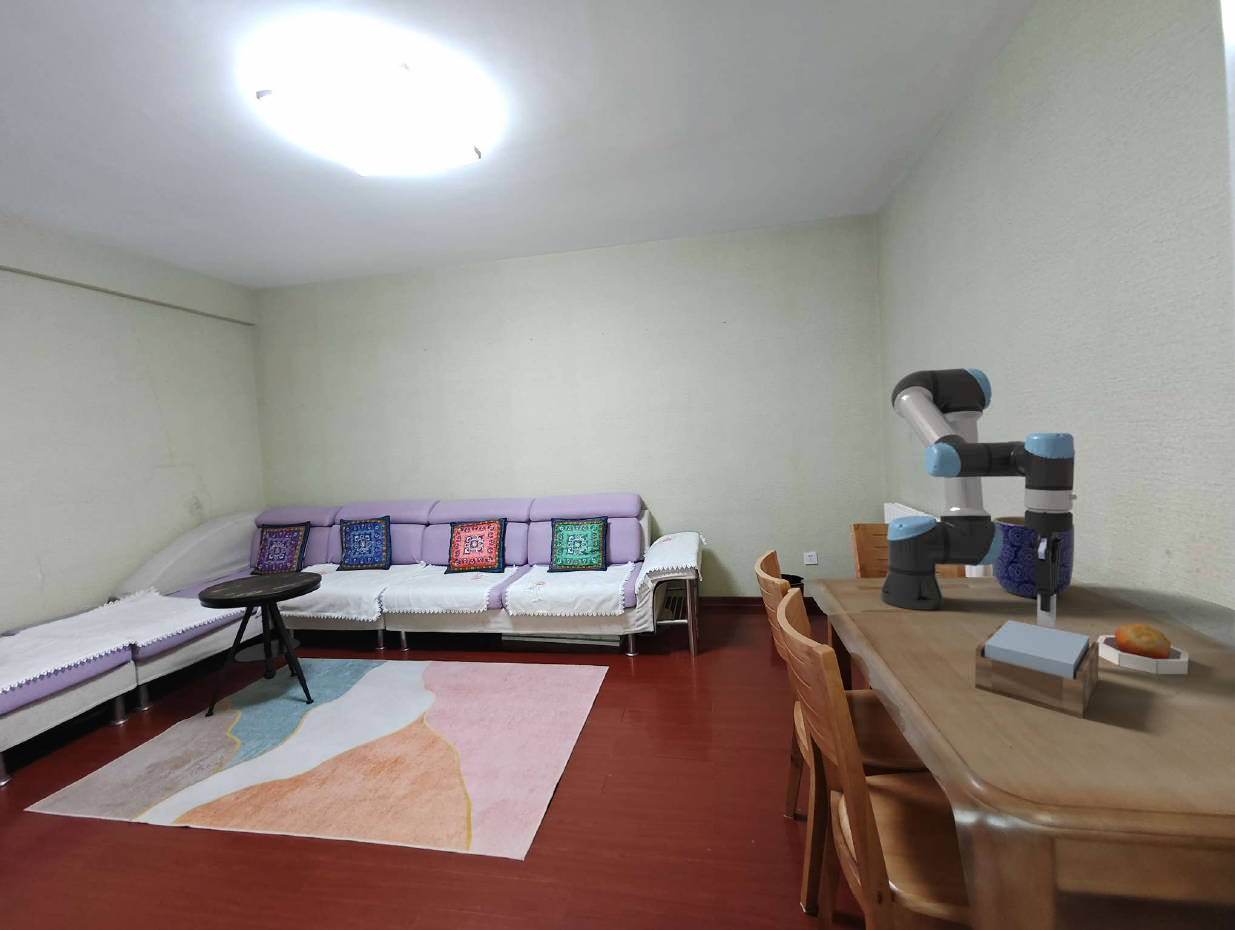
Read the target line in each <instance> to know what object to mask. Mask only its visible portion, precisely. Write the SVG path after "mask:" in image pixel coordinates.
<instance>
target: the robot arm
mask: <svg viewBox="0 0 1235 930" xmlns="http://www.w3.org/2000/svg"><path fill="white" fill-rule="evenodd" d="M992 394H993V393H992V386H991V383H990V380H989V378H988V376H987V374H985V373H984V372H983V371H982V370H981V369H978V368H963V367H961V368H949V369H935V370H933V369H932V370H927V369H925V370H918V371H913V372H911V373H910V374H909V373H908V374H907V375H905V376H904V377H903V378H901V379H900V380H899V381H898V382H897V383H896V384H895V386H894V388H893V390H892V393H891V397H890V402H891V405H892V408H893V410H894V412H895V413H896V414H897V415H898V416H899V417H901V418H902V419H905V421H906V422H907V423H908V424H909V426H910V428H911V429H912V430H913V432H914V434H915V435H916V436H917V437H918V438H919V440H920V441H921V443H922V444H923V446H924V447H925V449H926V450H925V452H924V453H925V454H924V465H925V469H926V471H927V473H928V474H929V476H931V477H934V478H935V477H936V478H943V483H944V497H945V510H944V511H942V512H941V514H940V515H939V517H940V518H939V519H940V521H937V519H936V518H935V517H934V516H930V515H908V516H903V517H898V518H895V519H893V520H890V522H888V527H887V528H888V529H887V536H886V540H887V573H886V575H885V579H884V582H883V583H882V586H881V589H880V598H881V600H882V601H883V602H885V603H886V604H888V605H891V606H895V607H899V608H904V609H909V610H922V611H924V610H925V611H927V610H936V609H937V610H938V609H941V608H942V607H943V606H944V595H943V593H942V589H941V587H940V584H939V580H938V579H937V575H936V574H937V573H936V572H937V571H936V569H937V566H939V565H941V566H942V565H944V566H971V567H977V566H990V565H992V564H993V563H994V562H995V561H996V560H997V559H998V557H999V556H1000V554H1001V551H1002V547H1003V533H1002V531H1001V527H1000V525H999V524H997V523H996V522H993V520H992V514H990V513H989V512H988V511H987V510H986V509H985V508H984V497H983V485H982V483H983V482H982V478H992V477H994V478H995V477H996V478H997V477H998V478H1000V477H1001V478H1002V477H1004V478H1006V477H1011V478H1012V477H1015V478H1017V477H1021V478H1025V479H1024V482H1025V484H1024V502H1023V503H1024V507H1025V508H1026V510H1025V511H1024V517H1025V523H1024V525H1025V527H1026V528H1028V529H1031V530H1036V531H1038V535H1037V538H1036V539H1034V547H1035V548H1034V549H1033V554H1034V563H1035V590H1033V593H1036V594H1038V598H1037V599H1036V600H1037V604H1036V605H1037V610H1036V613H1037V615H1036V626H1041V627H1046V628H1051V629H1055V627H1056V620H1057V619H1056V617H1057V615H1056V614H1057V613H1056V612H1057V597H1056V594H1061V590H1057V589H1056V588H1058V586H1059V585H1058V575H1059V560H1060V548H1061V546H1062V539H1058V532H1069V531H1071V530H1072V529H1073V524H1074V523H1073V520H1074V513H1072V512H1071V511H1070V510H1072V509H1073V500H1077V499H1078V496H1077V494H1073V493H1074V490H1073V489H1074V480H1075V479H1074V478H1075V477H1074V476H1075V455H1076V451H1075V444H1074V443H1075V441H1074V439H1075V438H1074V437H1073V435H1072V434H1070V433H1068V432H1042V433H1041V432H1039V433H1037V432H1036V433H1034V432H1033V433H1029V434H1028V435H1027V436H1026V438H1025V441H1019V440H1017V441H1013V440H1011V441H1008V442H1006V441H1005V442H1004V441H1003V442H1002V441H1001V442H979V434H978V433H979V431H978V420H979V419H980V418H982V416H983V415H984V410H986V409H988V408H989V407H990V405H991V398H992ZM1054 593H1056V594H1054ZM1061 595H1062V594H1061Z"/></svg>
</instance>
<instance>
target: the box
mask: <svg viewBox="0 0 1235 930" xmlns="http://www.w3.org/2000/svg"><path fill="white" fill-rule="evenodd" d="M1005 623H1006V622H1000V624H999V625H998V626H996V628H995V629H994V630H993V631H992V632H990V634H988V636H986V637H985V638H984V639H983V640H982V641H981V642H980V643H979V644H978V645H977V646H976V647H975V669H974V670H975V672H974V673H975V674H974V675H975V676H974V677H975V680H974V681H975V683H974V685H975V688H976V689H979V690H983V691H986V692H989V693H993V694H996V695H1000V696H1004V697H1007V698H1010V699H1014V700H1018V701H1019V702H1023V703H1024V702H1025V703H1028V704H1031V705H1034V706H1037V707H1041V708H1044V709H1048V710H1052V711H1055V712H1059V713H1063V714H1066V715H1069V716H1073V717H1076V718H1080V719H1083V716H1084V715H1085V712H1086V710H1087V707H1088V705H1089V703H1090V701H1091V699H1092V697H1093V694H1094V692H1095V689H1096V688H1097V685H1098V683H1099V662H1100V661H1099V659H1100V658H1099V657H1100V656H1099V643H1098V642H1097V641H1092V643H1091V645H1090V646H1089V650H1088V652H1087V654H1086V656H1085V658H1084V659H1083V661H1082V663H1081V665H1080V667H1079V669H1078V671H1077V673H1076V674H1075V676H1074V678H1073V679H1070V678H1066V677H1062V676H1058V675H1054V674H1050V673H1046V672H1042V671H1038V670H1034V669H1030V668H1026V667H1022V666H1018V665H1014V664H1010V663H1006V662H1002V661H998V660H994V659H990V658H986V657H985V643H986V642H987V641H988V640H989V639H990V638H991V637H992V636H993V635H994V634H995V633H996V632H997V631H998V630H999V629H1000V628H1001V627H1002V626H1003V625H1004V624H1005Z"/></svg>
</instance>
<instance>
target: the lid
mask: <svg viewBox="0 0 1235 930" xmlns="http://www.w3.org/2000/svg"><path fill="white" fill-rule="evenodd" d="M1004 623H1005V624H1004V625H1003V626H1002V627H1001V628H1000V629H999V630H998V631H997V632H996V633H995V634H994V635H993V636H992V637H991V638H990V639H989V640H988V641H987V642H986V643H985V657H986V658H990V659H994V660H998V661H1002V662H1006V663H1010V664H1014V665H1018V666H1022V667H1026V668H1030V669H1034V670H1038V671H1042V672H1046V673H1050V674H1054V675H1058V676H1062V677H1066V678H1070V679H1073V678H1074V676H1075V674H1076V673H1077V671H1078V669H1079V667H1080V665H1081V663H1082V661H1083V659H1084V658H1085V656H1086V654H1087V652H1088V650H1089V648H1090V635H1085V634H1079V633H1074V632H1070V631H1066V630H1060V629H1055V628H1051V627H1046V626H1041V625H1037V624H1036V625H1034V624H1030V623H1026V622H1021V621H1020V622H1019V621H1014V620H1010V619H1008V620H1007V621H1006V622H1004Z"/></svg>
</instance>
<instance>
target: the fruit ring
mask: <svg viewBox="0 0 1235 930" xmlns="http://www.w3.org/2000/svg"><path fill="white" fill-rule="evenodd" d="M1096 642H1098V643H1099V657H1100V658H1103V659H1105V660H1107V661H1108V662H1110V663H1112V664H1114V665H1117V666H1120V667H1124V668H1128V669H1133V670H1136V671H1141V672H1146V673H1150V674H1155V675H1156V674H1157V675H1188V670H1189V656H1190V655H1189V652H1187V651H1185V650H1183V649H1180V648H1177V647H1175V646H1172V645H1171V646H1170V654H1169V658H1168V659H1152V658H1147V657H1142V656H1137V655H1132V654H1128V653H1123V652H1121V651H1120V650H1119V649H1118V647H1117V643H1116V639H1115V634H1114V635H1113V634H1112V635H1111V634H1109V635H1108V634H1107V635H1099V637H1098V638H1097V640H1096Z"/></svg>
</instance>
